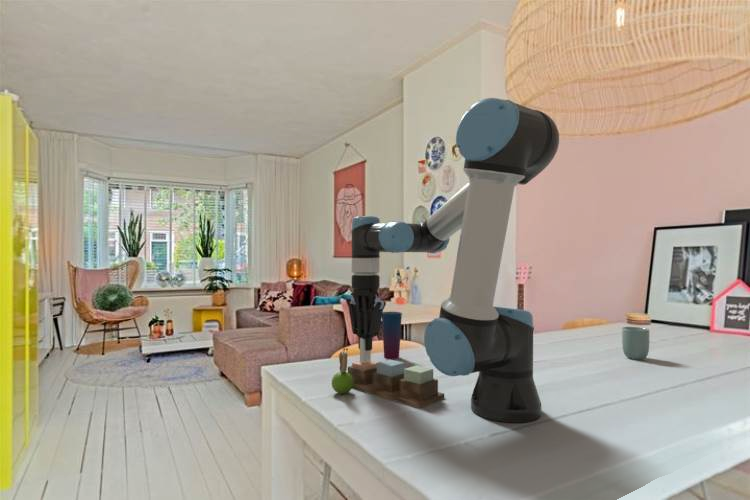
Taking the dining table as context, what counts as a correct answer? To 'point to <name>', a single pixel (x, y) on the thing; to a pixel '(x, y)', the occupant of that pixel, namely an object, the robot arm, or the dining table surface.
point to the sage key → (418, 374)
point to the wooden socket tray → (395, 387)
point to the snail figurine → (342, 376)
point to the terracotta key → (364, 365)
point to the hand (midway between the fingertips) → (365, 361)
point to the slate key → (390, 368)
